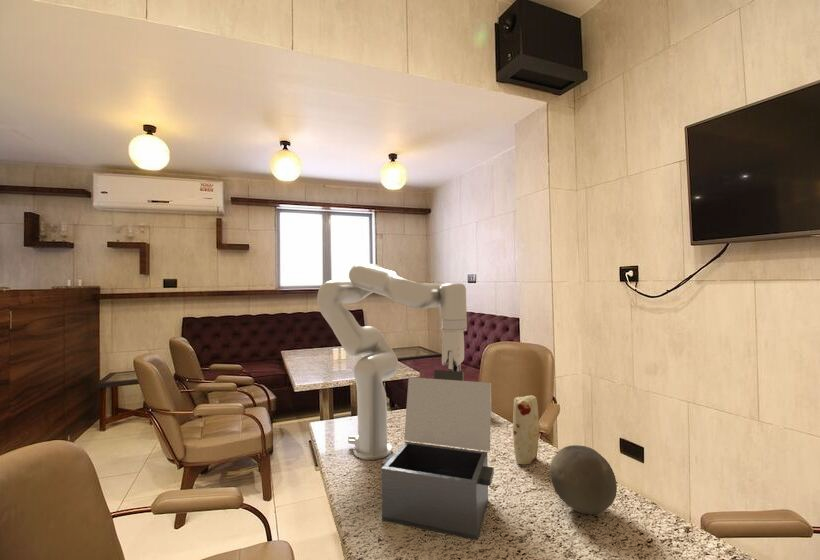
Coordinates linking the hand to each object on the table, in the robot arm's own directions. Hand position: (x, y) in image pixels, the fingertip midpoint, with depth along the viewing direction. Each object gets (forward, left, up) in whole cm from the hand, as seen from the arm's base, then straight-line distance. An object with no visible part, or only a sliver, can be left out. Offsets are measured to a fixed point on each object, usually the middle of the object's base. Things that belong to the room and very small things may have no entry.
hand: (455, 387), depth 112 cm
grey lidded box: (0, -20, -24) cm, 32 cm away
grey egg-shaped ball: (+33, -10, -24) cm, 42 cm away
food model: (+19, +13, -24) cm, 33 cm away
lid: (0, -10, -3) cm, 10 cm away
